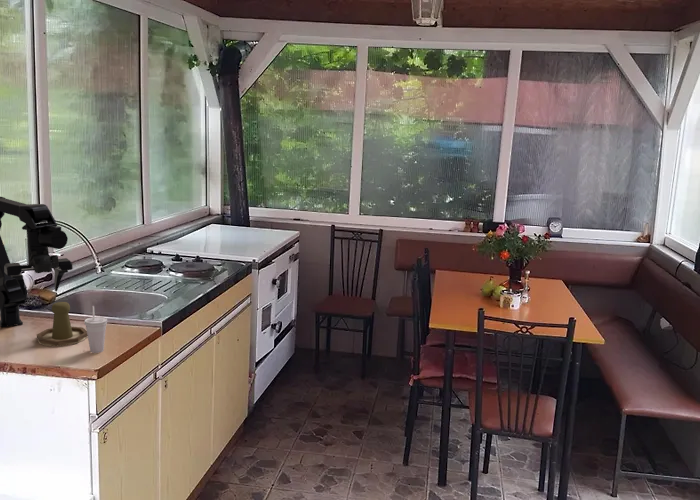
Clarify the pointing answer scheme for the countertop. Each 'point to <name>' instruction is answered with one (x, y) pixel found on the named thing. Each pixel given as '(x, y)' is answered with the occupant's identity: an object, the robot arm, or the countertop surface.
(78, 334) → the tray
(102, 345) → the smoothie
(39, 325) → the countertop surface
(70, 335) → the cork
